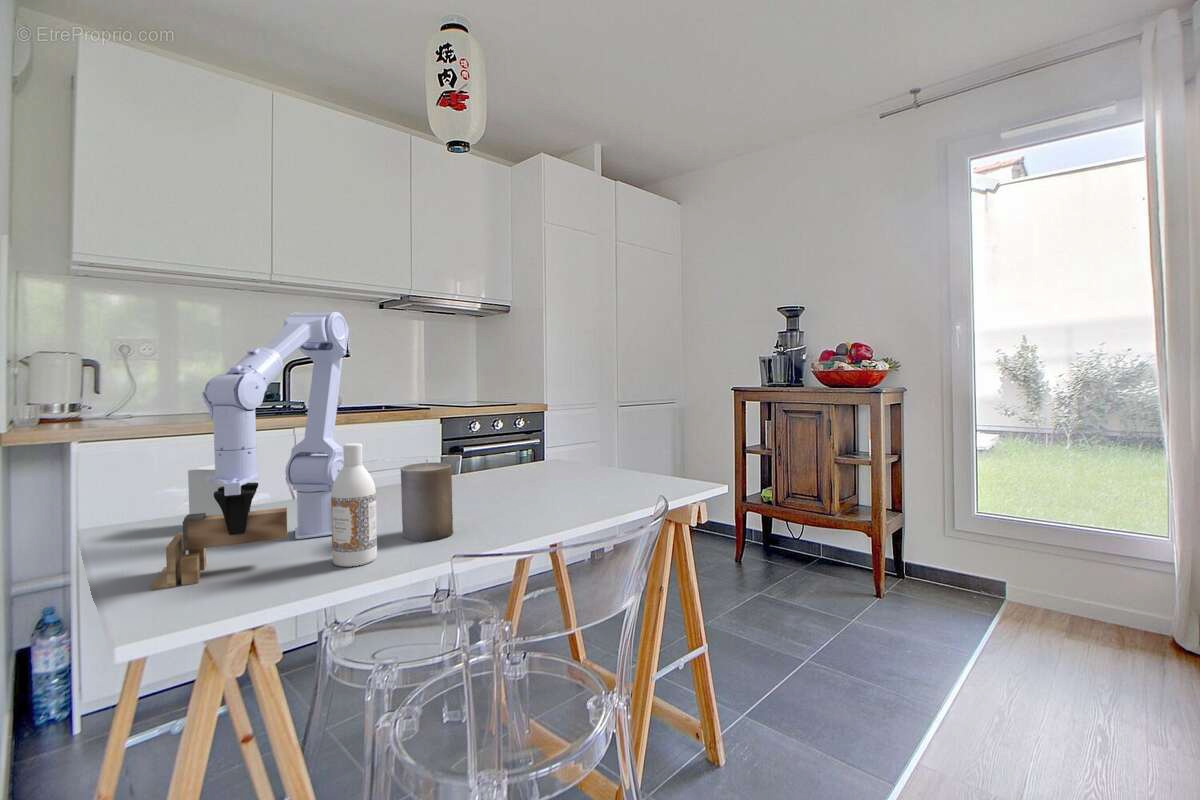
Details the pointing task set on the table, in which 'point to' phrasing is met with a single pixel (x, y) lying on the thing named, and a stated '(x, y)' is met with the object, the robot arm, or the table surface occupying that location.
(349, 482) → the bath foam
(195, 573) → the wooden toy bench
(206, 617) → the table surface
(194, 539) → the brown wooden block
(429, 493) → the pillar candle
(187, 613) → the table surface
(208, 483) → the supplement box
